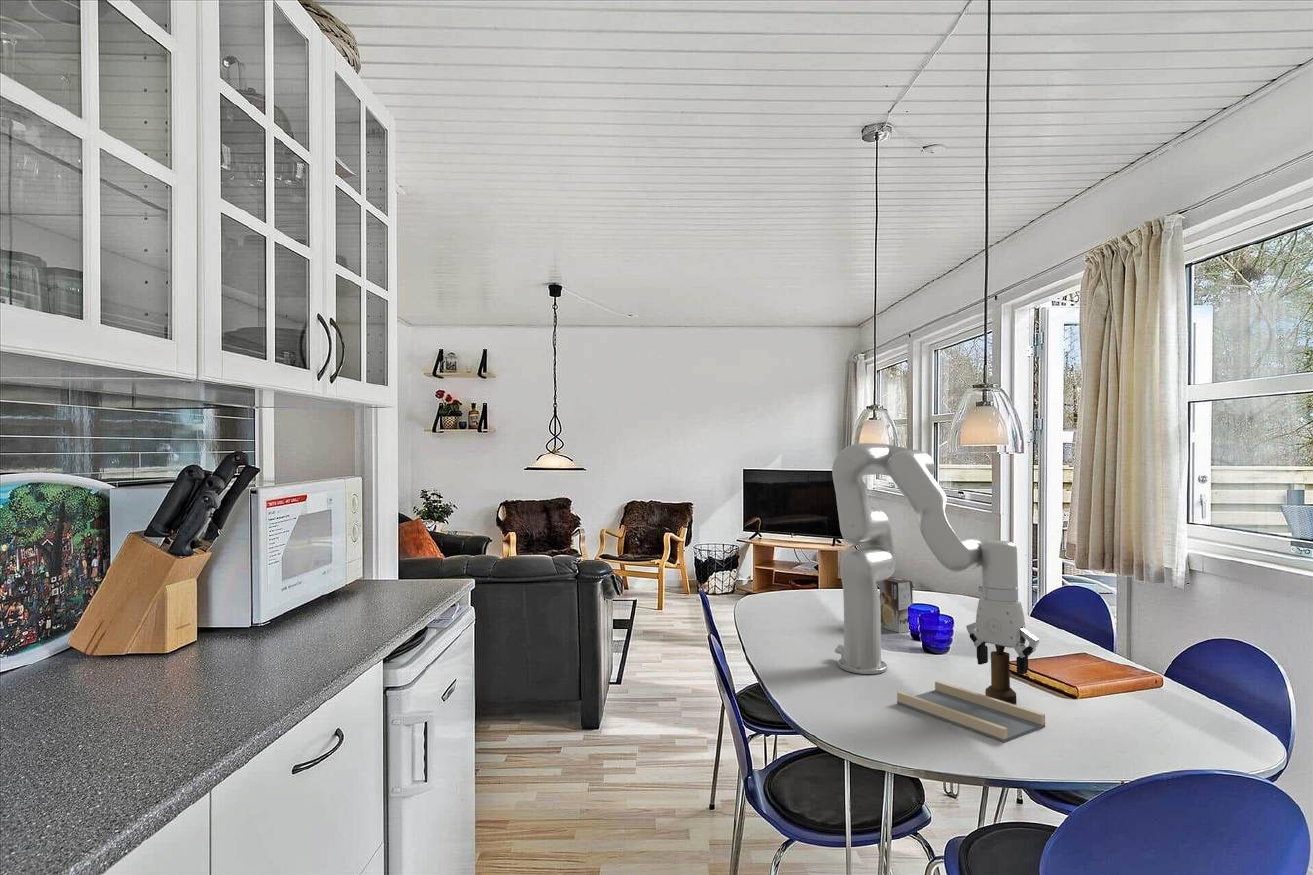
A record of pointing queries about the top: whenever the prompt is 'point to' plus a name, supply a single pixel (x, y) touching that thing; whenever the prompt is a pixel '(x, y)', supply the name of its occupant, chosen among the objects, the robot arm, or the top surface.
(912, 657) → the top surface
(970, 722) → the grey tray beige rails
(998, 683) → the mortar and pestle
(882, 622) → the coffee box
